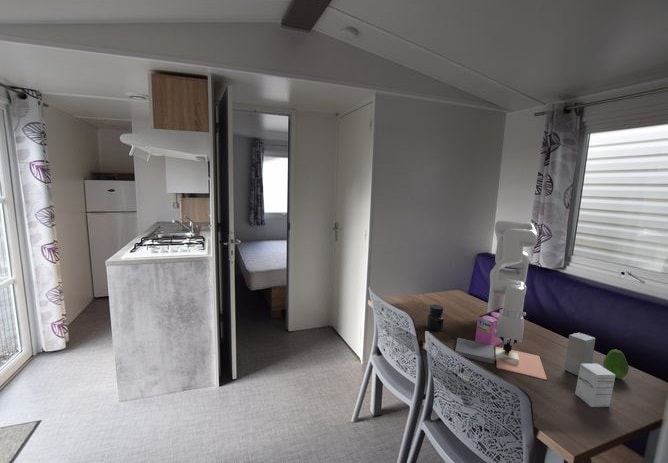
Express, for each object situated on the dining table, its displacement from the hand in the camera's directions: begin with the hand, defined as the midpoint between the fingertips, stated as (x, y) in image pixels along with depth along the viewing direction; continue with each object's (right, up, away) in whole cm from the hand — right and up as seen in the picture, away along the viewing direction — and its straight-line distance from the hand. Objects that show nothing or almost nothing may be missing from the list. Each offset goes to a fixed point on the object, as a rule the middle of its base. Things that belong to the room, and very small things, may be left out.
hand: (506, 351), depth 145 cm
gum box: (+4, -1, +19) cm, 19 cm away
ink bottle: (-23, +2, +29) cm, 37 cm away
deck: (-12, -2, +6) cm, 13 cm away
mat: (+4, -4, -2) cm, 6 cm away
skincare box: (+26, -6, -7) cm, 28 cm away
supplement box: (+17, -8, -26) cm, 32 cm away
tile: (0, -3, 0) cm, 3 cm away
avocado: (+39, -7, -10) cm, 41 cm away
